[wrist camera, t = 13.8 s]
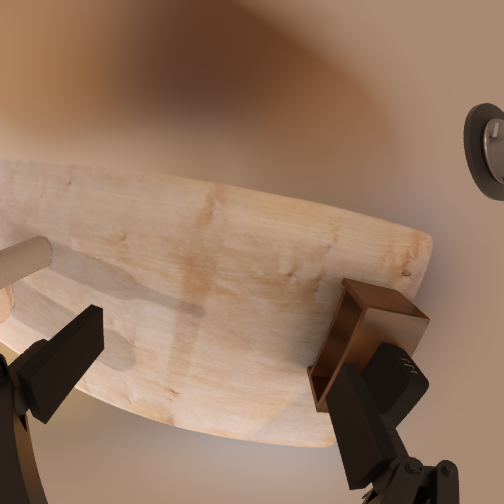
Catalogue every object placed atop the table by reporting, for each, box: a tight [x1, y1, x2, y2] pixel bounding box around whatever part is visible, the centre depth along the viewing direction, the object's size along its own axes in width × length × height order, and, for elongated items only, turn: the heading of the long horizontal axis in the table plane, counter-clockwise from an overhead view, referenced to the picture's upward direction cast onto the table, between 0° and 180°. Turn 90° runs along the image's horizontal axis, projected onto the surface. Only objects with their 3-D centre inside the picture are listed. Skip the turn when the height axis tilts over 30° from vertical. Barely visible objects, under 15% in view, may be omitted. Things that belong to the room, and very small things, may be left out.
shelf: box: [307, 278, 430, 413], centre depth 42 cm, size 20×12×12 cm, turn 166°
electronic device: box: [360, 343, 429, 428], centre depth 32 cm, size 4×10×10 cm, turn 159°
